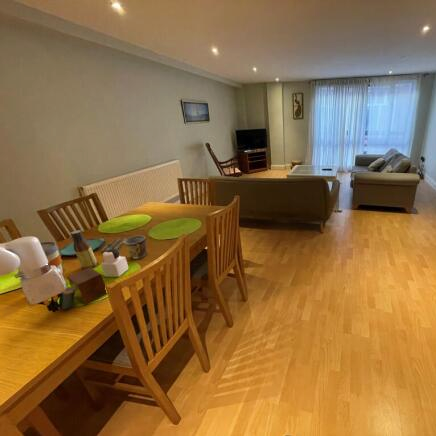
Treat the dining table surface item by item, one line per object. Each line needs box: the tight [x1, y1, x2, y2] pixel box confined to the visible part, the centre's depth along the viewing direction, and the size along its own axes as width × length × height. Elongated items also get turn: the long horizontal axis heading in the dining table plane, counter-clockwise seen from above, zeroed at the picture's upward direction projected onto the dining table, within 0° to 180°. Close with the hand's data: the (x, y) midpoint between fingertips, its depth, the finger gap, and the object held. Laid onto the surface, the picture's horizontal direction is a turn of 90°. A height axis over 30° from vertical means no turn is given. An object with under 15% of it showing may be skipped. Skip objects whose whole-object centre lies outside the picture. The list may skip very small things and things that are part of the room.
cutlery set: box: [58, 237, 127, 258], centre depth 139 cm, size 20×30×2 cm, turn 101°
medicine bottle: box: [100, 248, 130, 278], centre depth 115 cm, size 7×7×12 cm
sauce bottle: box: [70, 229, 98, 270], centre depth 118 cm, size 6×6×20 cm
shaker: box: [58, 286, 75, 310], centre depth 95 cm, size 8×4×8 cm, turn 150°
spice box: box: [66, 267, 108, 305], centre depth 100 cm, size 8×10×10 cm
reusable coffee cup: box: [40, 241, 64, 274], centre depth 113 cm, size 13×13×15 cm
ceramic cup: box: [123, 235, 147, 260], centre depth 129 cm, size 13×10×10 cm
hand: (55, 310), depth 92 cm, fingers closed
